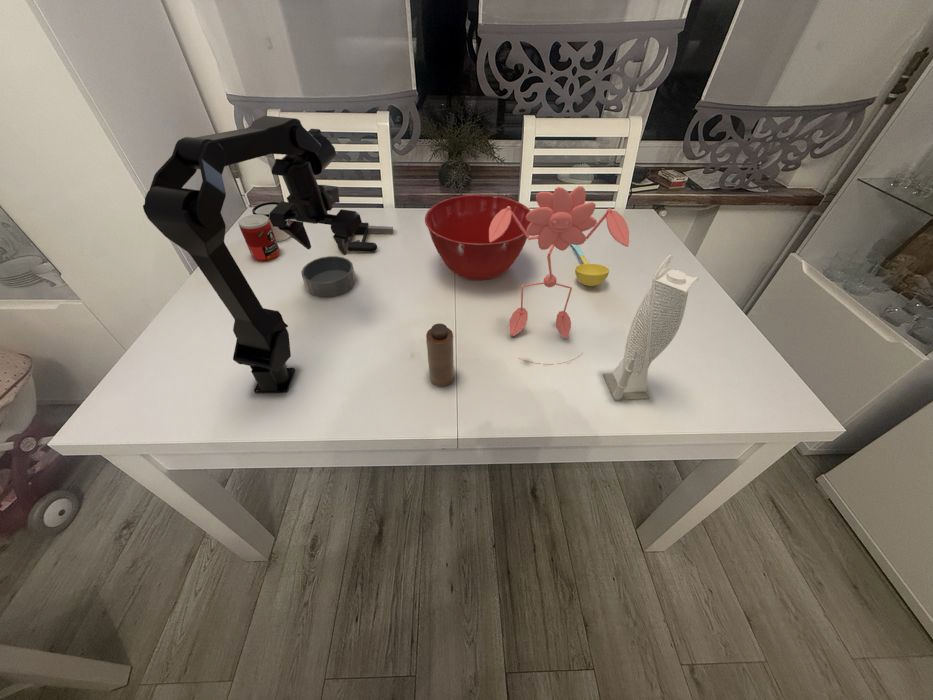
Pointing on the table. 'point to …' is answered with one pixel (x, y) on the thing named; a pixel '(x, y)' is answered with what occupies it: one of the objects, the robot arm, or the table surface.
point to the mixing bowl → (476, 235)
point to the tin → (329, 276)
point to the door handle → (365, 230)
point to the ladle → (590, 271)
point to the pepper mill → (440, 355)
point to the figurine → (557, 237)
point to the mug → (265, 210)
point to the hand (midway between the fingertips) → (327, 251)
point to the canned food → (259, 237)
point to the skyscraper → (650, 332)
